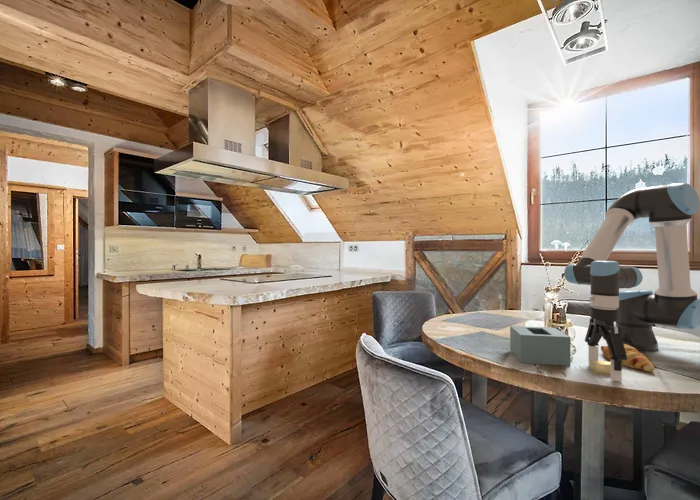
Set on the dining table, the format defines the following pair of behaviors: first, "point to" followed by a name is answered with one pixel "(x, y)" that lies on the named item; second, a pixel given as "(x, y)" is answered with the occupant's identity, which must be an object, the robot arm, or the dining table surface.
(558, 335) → the coin box
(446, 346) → the dining table surface
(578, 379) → the dining table surface
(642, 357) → the croissant
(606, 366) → the pale yellow block
